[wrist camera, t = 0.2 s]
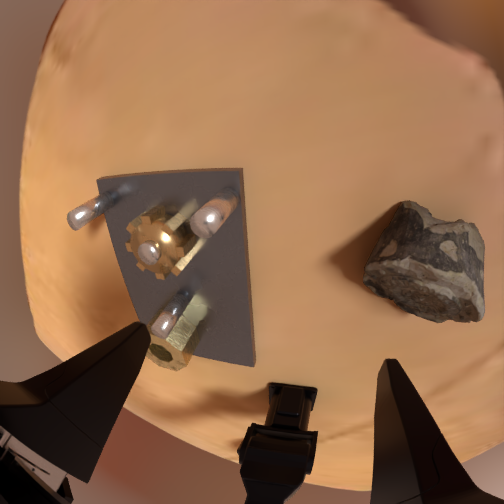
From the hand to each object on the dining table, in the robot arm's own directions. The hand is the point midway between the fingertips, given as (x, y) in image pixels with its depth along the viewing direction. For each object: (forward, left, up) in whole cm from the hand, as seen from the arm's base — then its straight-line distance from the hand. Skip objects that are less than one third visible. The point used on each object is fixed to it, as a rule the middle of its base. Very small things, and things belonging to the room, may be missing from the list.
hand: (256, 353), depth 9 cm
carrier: (-8, +12, -14) cm, 21 cm away
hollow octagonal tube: (-15, +14, -13) cm, 25 cm away
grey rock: (-4, -11, -15) cm, 18 cm away
